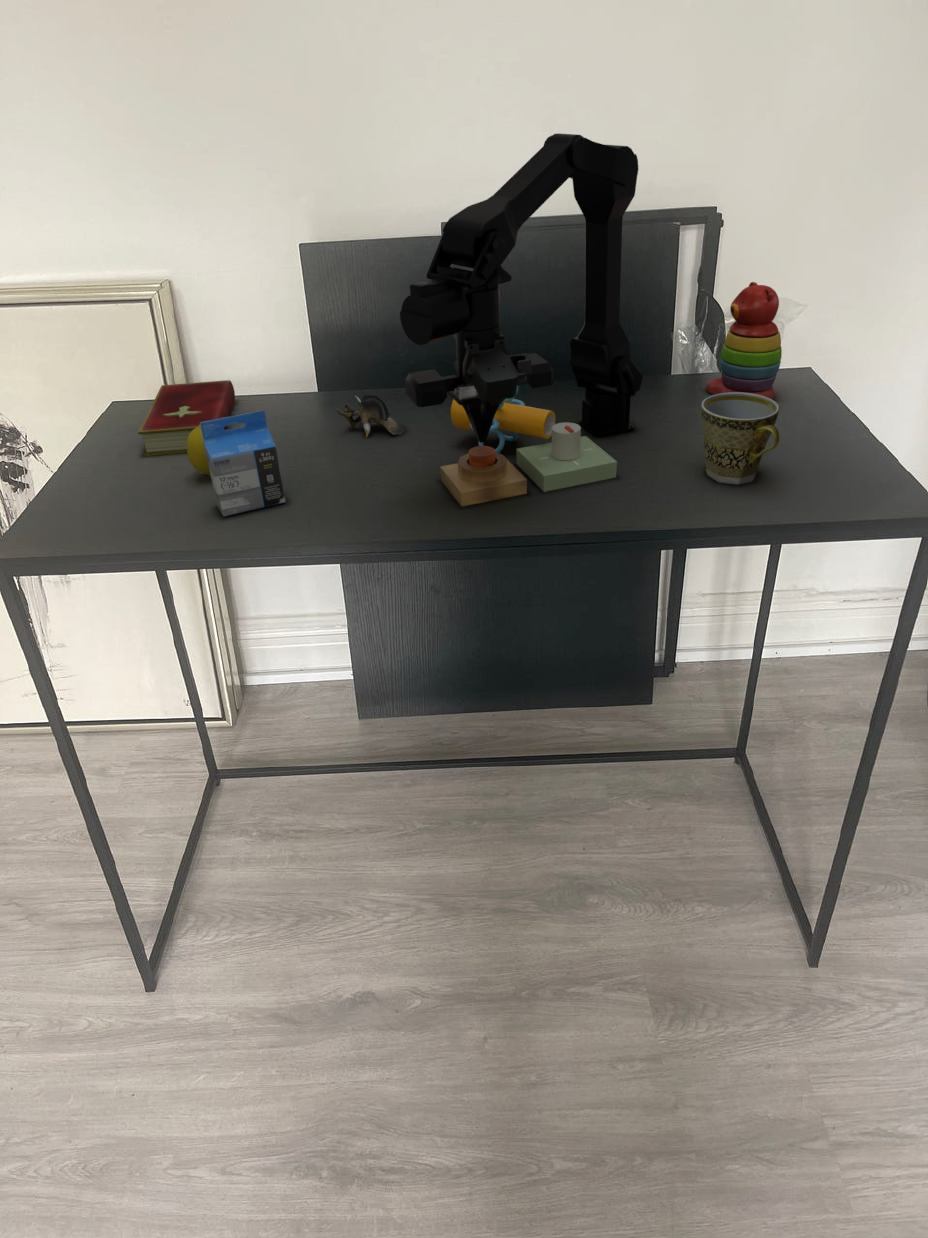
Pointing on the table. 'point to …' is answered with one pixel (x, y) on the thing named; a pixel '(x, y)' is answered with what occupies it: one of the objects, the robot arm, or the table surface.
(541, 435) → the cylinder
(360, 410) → the animal figurine
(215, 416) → the hardcover book
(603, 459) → the dial panel
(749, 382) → the stacking bear
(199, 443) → the lemon
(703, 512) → the table surface
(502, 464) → the button block
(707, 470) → the ceramic cup
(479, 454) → the top button
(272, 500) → the label tape box
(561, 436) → the dial
